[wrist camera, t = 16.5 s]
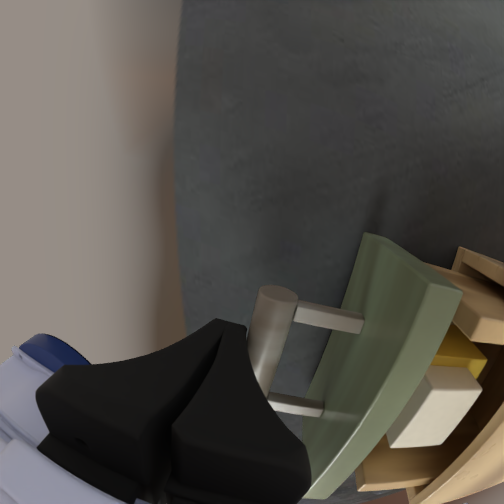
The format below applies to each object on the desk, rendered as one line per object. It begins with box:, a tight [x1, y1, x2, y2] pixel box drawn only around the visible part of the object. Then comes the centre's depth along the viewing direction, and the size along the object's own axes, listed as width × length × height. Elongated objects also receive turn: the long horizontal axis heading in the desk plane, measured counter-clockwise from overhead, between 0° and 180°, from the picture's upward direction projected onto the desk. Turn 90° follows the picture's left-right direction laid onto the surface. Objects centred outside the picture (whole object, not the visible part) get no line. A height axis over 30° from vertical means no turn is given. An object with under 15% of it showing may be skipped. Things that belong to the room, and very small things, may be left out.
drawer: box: [247, 232, 504, 499], centre depth 10 cm, size 16×10×7 cm, turn 78°
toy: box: [386, 324, 488, 448], centre depth 9 cm, size 4×4×5 cm
